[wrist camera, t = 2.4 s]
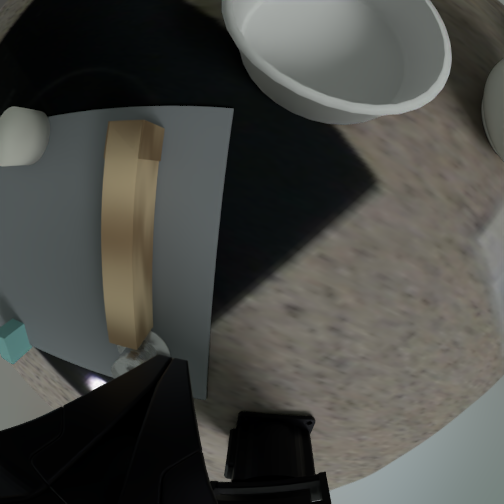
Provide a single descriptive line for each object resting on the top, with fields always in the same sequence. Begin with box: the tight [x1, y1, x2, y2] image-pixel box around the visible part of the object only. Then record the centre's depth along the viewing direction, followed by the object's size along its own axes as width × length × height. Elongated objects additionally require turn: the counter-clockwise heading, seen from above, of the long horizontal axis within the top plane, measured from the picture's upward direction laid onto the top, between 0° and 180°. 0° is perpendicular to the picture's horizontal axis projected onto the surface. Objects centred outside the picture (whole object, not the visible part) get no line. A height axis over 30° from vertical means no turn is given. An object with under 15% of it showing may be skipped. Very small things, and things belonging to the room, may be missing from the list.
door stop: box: [0, 106, 50, 167], centre depth 14 cm, size 4×4×3 cm
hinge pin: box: [111, 330, 171, 379], centre depth 18 cm, size 4×4×4 cm
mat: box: [0, 106, 234, 400], centre depth 17 cm, size 25×21×1 cm
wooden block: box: [101, 120, 165, 350], centre depth 15 cm, size 13×2×3 cm, turn 173°
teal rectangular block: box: [0, 319, 32, 364], centre depth 18 cm, size 2×3×4 cm, turn 173°
